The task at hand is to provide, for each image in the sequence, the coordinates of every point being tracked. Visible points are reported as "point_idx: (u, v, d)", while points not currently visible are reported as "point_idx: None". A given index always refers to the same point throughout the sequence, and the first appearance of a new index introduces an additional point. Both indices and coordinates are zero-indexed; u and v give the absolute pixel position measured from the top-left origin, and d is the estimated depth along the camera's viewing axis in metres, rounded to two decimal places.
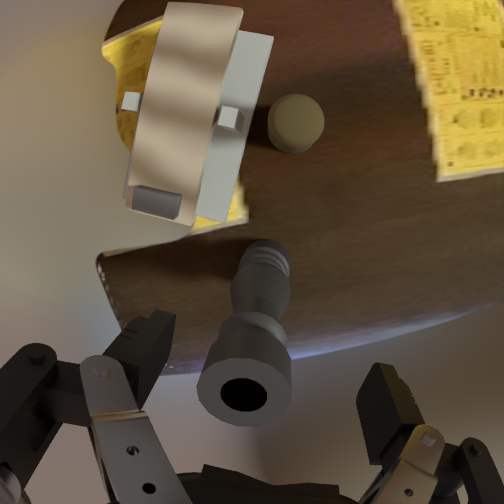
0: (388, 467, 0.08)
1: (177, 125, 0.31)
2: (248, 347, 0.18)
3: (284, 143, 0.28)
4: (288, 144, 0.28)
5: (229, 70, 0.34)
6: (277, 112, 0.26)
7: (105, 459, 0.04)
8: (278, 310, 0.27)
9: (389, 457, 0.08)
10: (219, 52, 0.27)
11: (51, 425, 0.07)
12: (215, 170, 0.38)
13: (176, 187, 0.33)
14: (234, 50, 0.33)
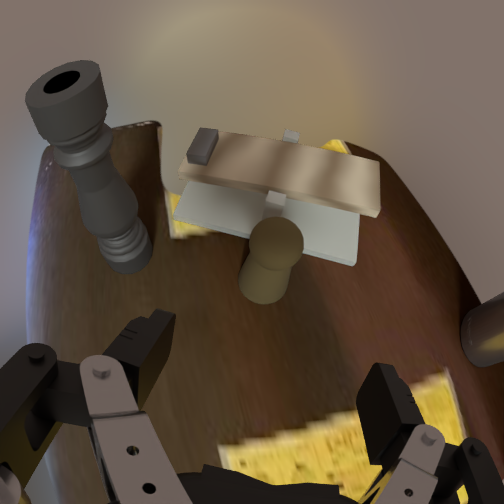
0: (388, 467, 0.08)
1: (268, 164, 0.38)
2: (99, 91, 0.18)
3: (253, 228, 0.30)
4: (252, 231, 0.30)
5: (318, 225, 0.42)
6: (284, 220, 0.30)
7: (105, 459, 0.04)
8: (95, 193, 0.25)
9: (389, 457, 0.08)
10: (336, 193, 0.36)
11: (51, 425, 0.07)
12: (223, 209, 0.41)
13: (214, 162, 0.38)
14: (338, 229, 0.42)
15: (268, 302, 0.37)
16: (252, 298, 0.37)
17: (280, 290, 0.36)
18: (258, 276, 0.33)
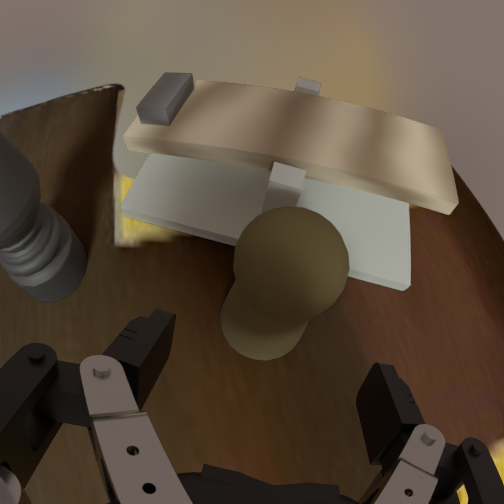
0: (388, 467, 0.08)
1: (272, 122, 0.22)
2: None
3: (243, 231, 0.14)
4: (241, 237, 0.14)
5: (351, 225, 0.26)
6: (308, 213, 0.14)
7: (105, 459, 0.04)
8: None
9: (389, 457, 0.08)
10: (389, 171, 0.19)
11: (51, 425, 0.07)
12: (199, 199, 0.25)
13: (182, 120, 0.22)
14: (381, 233, 0.26)
15: (271, 358, 0.21)
16: (244, 352, 0.21)
17: (292, 341, 0.19)
18: (253, 323, 0.17)
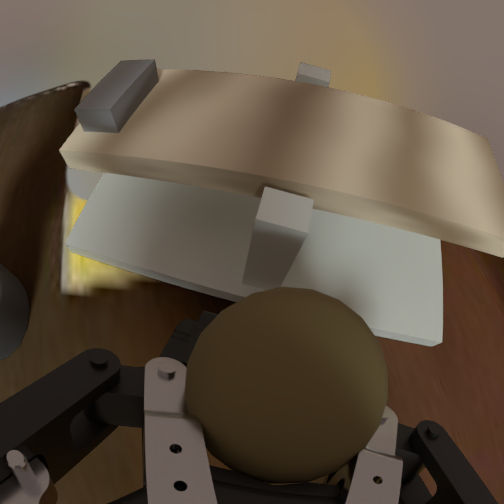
0: None
1: (263, 123, 0.15)
2: None
3: (199, 340, 0.07)
4: (195, 354, 0.07)
5: (371, 264, 0.19)
6: (323, 308, 0.07)
7: (146, 451, 0.05)
8: None
9: None
10: (433, 199, 0.13)
11: (101, 429, 0.07)
12: (165, 231, 0.18)
13: (136, 124, 0.15)
14: (408, 273, 0.19)
15: None
16: None
17: None
18: None
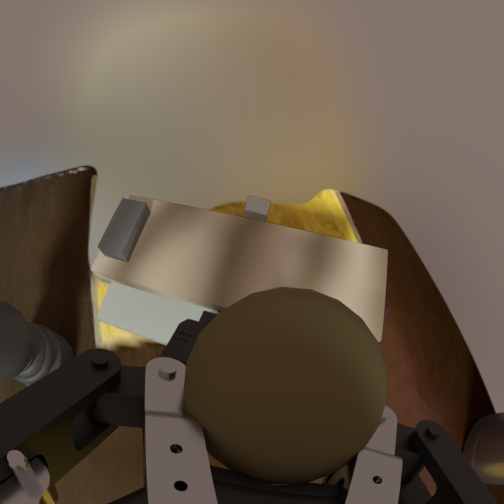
0: None
1: (216, 261, 0.25)
2: None
3: (198, 340, 0.07)
4: (194, 354, 0.07)
5: None
6: (322, 308, 0.07)
7: (146, 451, 0.05)
8: None
9: None
10: None
11: (102, 429, 0.07)
12: (160, 313, 0.29)
13: (138, 256, 0.26)
14: None
15: None
16: None
17: None
18: None
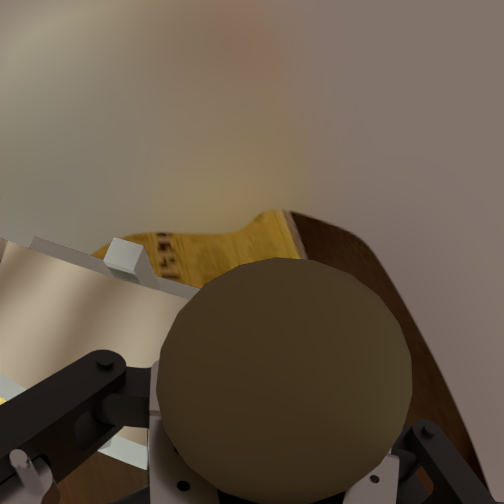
0: None
1: (58, 342, 0.15)
2: None
3: (173, 323, 0.06)
4: (166, 339, 0.06)
5: None
6: (326, 279, 0.06)
7: (150, 451, 0.05)
8: None
9: None
10: None
11: (106, 430, 0.07)
12: None
13: None
14: None
15: None
16: None
17: None
18: None
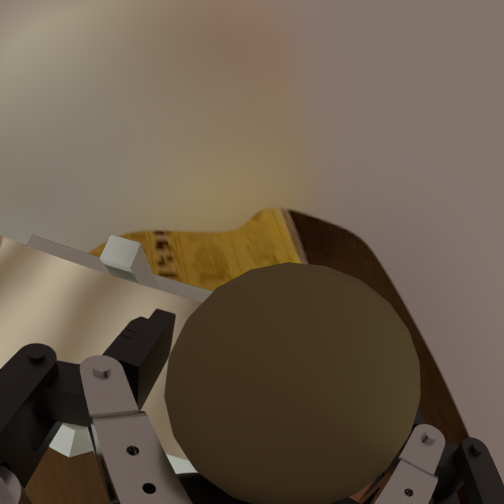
0: (388, 467, 0.08)
1: (55, 340, 0.14)
2: None
3: (183, 327, 0.06)
4: (176, 344, 0.06)
5: None
6: (339, 286, 0.06)
7: (105, 459, 0.04)
8: None
9: None
10: None
11: (51, 425, 0.07)
12: None
13: None
14: None
15: None
16: None
17: None
18: None
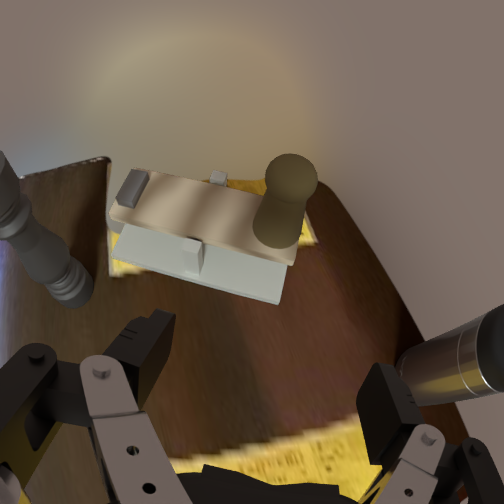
0: (388, 467, 0.08)
1: (190, 209, 0.40)
2: (6, 183, 0.20)
3: None
4: (269, 165, 0.31)
5: (244, 264, 0.44)
6: (298, 156, 0.31)
7: (105, 459, 0.04)
8: (27, 253, 0.27)
9: (389, 456, 0.08)
10: (251, 242, 0.38)
11: (51, 425, 0.07)
12: (155, 249, 0.43)
13: (141, 205, 0.39)
14: (264, 269, 0.44)
15: (282, 246, 0.38)
16: (266, 242, 0.38)
17: (294, 232, 0.36)
18: (273, 213, 0.34)
